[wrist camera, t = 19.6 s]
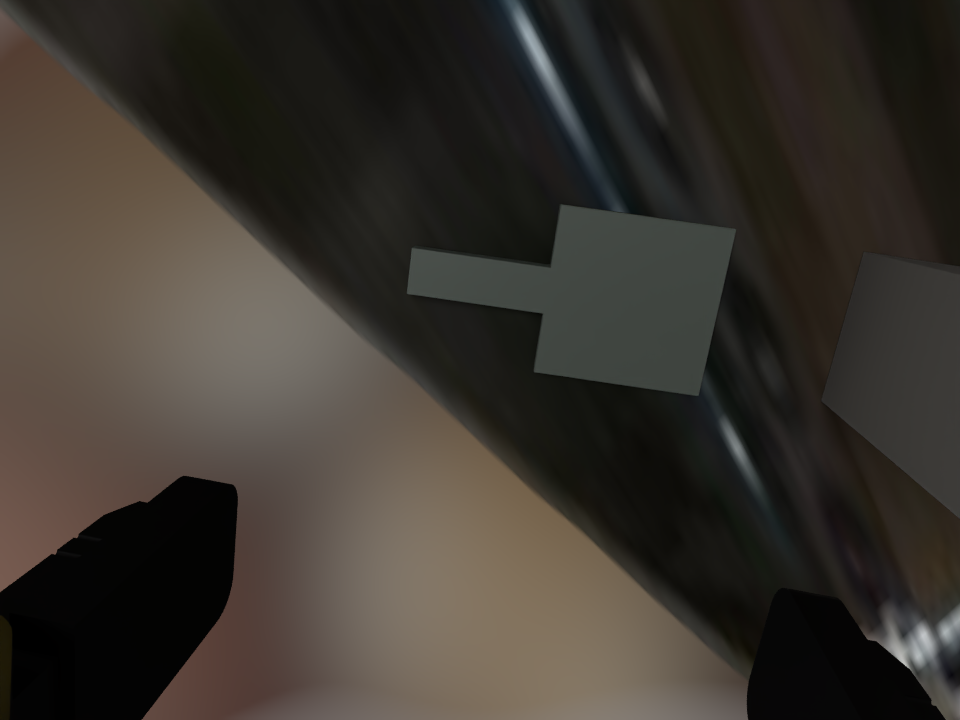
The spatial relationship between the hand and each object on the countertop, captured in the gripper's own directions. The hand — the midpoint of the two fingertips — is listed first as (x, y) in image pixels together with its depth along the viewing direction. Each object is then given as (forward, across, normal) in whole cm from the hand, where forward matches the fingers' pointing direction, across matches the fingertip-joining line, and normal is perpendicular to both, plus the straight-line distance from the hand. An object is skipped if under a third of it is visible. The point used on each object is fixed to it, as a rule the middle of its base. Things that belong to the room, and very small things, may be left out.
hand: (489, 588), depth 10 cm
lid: (+38, -1, +1) cm, 38 cm away
